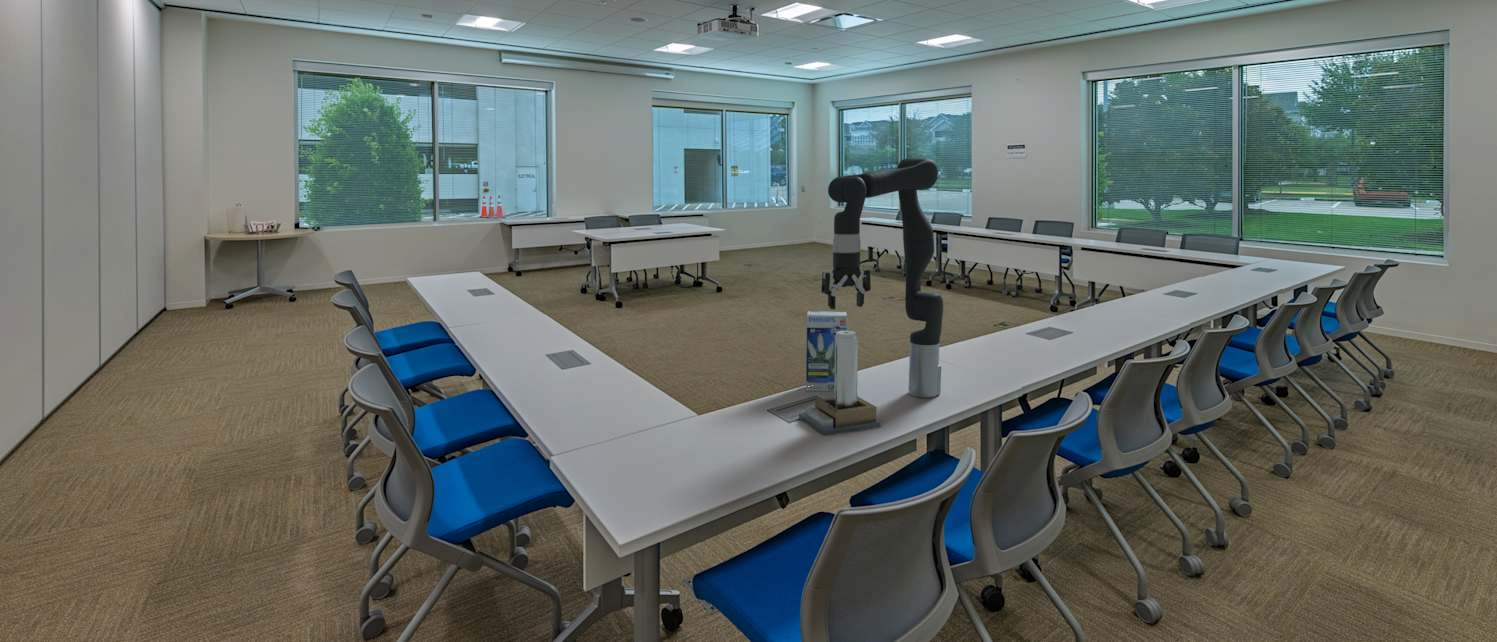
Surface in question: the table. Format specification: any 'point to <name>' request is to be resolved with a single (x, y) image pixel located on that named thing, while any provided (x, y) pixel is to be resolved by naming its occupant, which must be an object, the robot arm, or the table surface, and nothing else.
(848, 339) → the white tall cylinder
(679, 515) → the table surface
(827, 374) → the string lights box
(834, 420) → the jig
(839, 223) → the robot arm
